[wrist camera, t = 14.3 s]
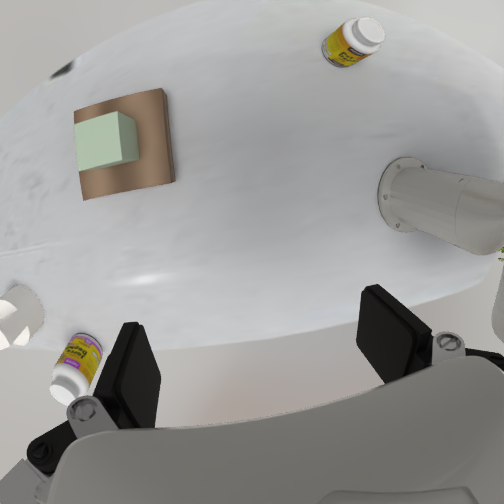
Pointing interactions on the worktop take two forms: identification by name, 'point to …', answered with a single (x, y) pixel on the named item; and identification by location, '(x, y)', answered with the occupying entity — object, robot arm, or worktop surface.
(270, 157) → the worktop surface
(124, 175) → the walnut base
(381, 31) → the supplement bottle
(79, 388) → the supplement bottle
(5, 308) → the base with upright slab
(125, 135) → the sage block
